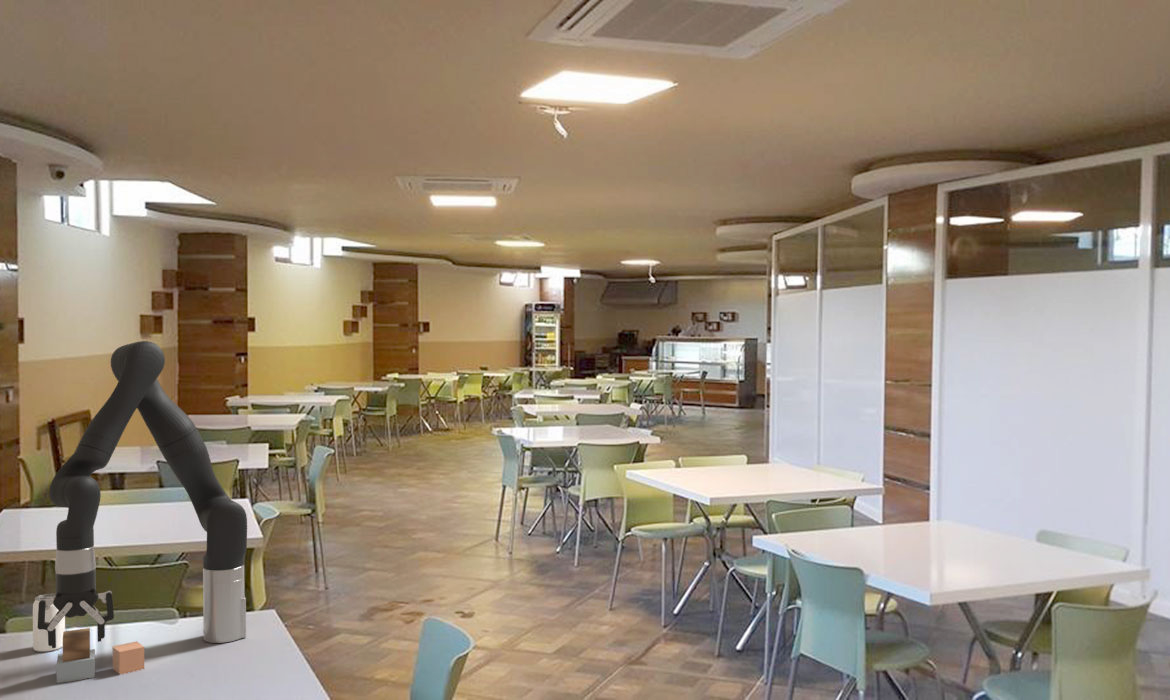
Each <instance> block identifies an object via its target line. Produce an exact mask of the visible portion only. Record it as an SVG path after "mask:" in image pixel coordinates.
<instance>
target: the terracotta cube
mask: <svg viewBox="0 0 1170 700" xmlns="http://www.w3.org/2000/svg"><path fill="white" fill-rule="evenodd" d="M112 669H114V672H115V673H117V672H118V673H119V674H122V675H125V674H124V673H126V674H129V673H128V672H130V673H134V672H133V671H135V672H138V671H137V670H139V671H142V670H141V669H144V670H145V646H144V645H143V644H141V643H140V642H139V641H138V640H136V641H132V642H127V643H123V644H117V645H114V646H112ZM118 673H117V674H118ZM119 674H118V675H119Z"/></svg>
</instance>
